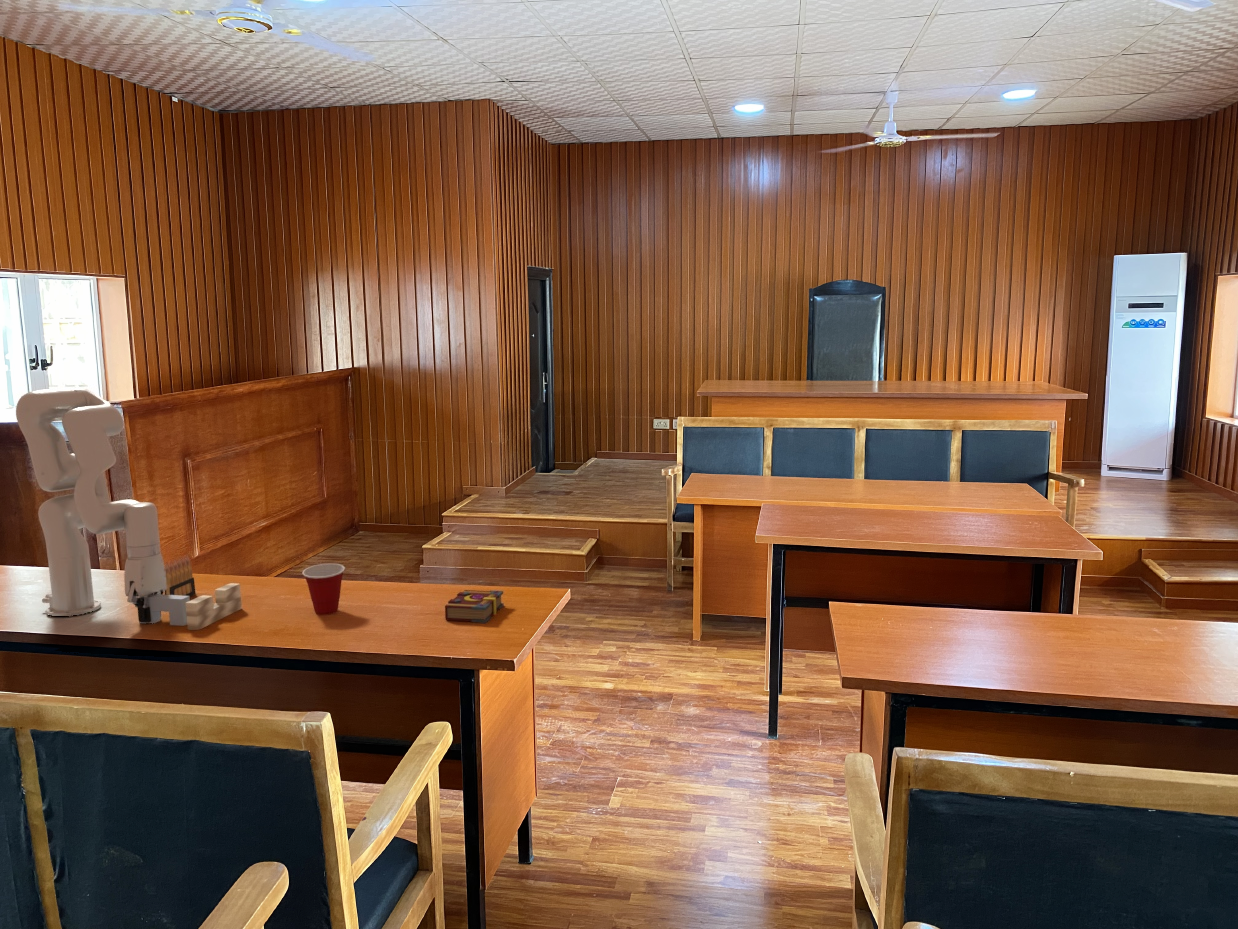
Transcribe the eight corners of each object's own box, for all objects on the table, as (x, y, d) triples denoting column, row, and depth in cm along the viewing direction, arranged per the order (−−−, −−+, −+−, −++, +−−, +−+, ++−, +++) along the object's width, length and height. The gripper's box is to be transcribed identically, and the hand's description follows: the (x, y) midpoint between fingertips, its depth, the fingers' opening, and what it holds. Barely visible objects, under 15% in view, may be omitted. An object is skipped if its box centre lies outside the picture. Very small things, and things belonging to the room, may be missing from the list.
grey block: (139, 623, 226) (137, 597, 225) (147, 619, 229) (145, 593, 228) (183, 625, 223) (181, 599, 222) (191, 622, 226) (189, 595, 225)
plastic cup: (298, 618, 228) (295, 574, 227) (313, 605, 239) (311, 563, 237) (339, 618, 228) (336, 574, 226) (352, 605, 239) (350, 563, 237)
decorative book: (444, 622, 225) (443, 603, 224) (465, 603, 241) (465, 586, 240) (486, 624, 223) (485, 605, 222) (505, 605, 239) (504, 587, 238)
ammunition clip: (171, 605, 241) (167, 563, 239) (165, 605, 241) (161, 563, 240) (195, 594, 252) (192, 553, 250) (190, 594, 252) (186, 553, 250)
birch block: (198, 630, 220) (196, 603, 219) (187, 629, 220) (185, 602, 219) (241, 608, 237) (239, 583, 236) (231, 608, 238) (230, 583, 237)
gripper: (153, 543, 233) (159, 609, 235) (107, 558, 217) (113, 629, 220) (178, 544, 231) (184, 610, 234) (133, 559, 216) (140, 630, 218)
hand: (150, 619), depth 227 cm, fingers closed on grey block, 3 cm apart
